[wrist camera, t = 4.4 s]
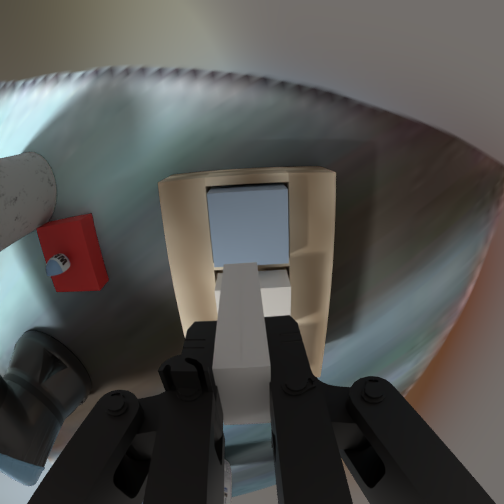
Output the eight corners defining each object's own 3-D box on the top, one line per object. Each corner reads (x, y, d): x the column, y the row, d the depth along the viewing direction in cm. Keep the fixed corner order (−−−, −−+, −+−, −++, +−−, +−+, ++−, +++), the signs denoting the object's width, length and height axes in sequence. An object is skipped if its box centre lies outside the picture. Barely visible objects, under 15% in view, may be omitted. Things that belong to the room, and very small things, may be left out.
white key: (224, 327, 27) (222, 348, 24) (217, 273, 24) (214, 290, 22) (285, 324, 27) (289, 344, 24) (286, 269, 24) (291, 286, 22)
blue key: (217, 252, 25) (214, 267, 22) (211, 187, 23) (206, 193, 20) (284, 249, 25) (288, 263, 22) (282, 183, 23) (287, 189, 20)
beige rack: (201, 354, 34) (196, 383, 30) (172, 174, 26) (157, 182, 21) (312, 348, 34) (320, 376, 30) (320, 166, 26) (335, 172, 21)
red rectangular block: (49, 221, 27) (17, 239, 22) (92, 212, 27) (61, 231, 22) (67, 281, 31) (41, 307, 25) (110, 278, 30) (86, 307, 25)
